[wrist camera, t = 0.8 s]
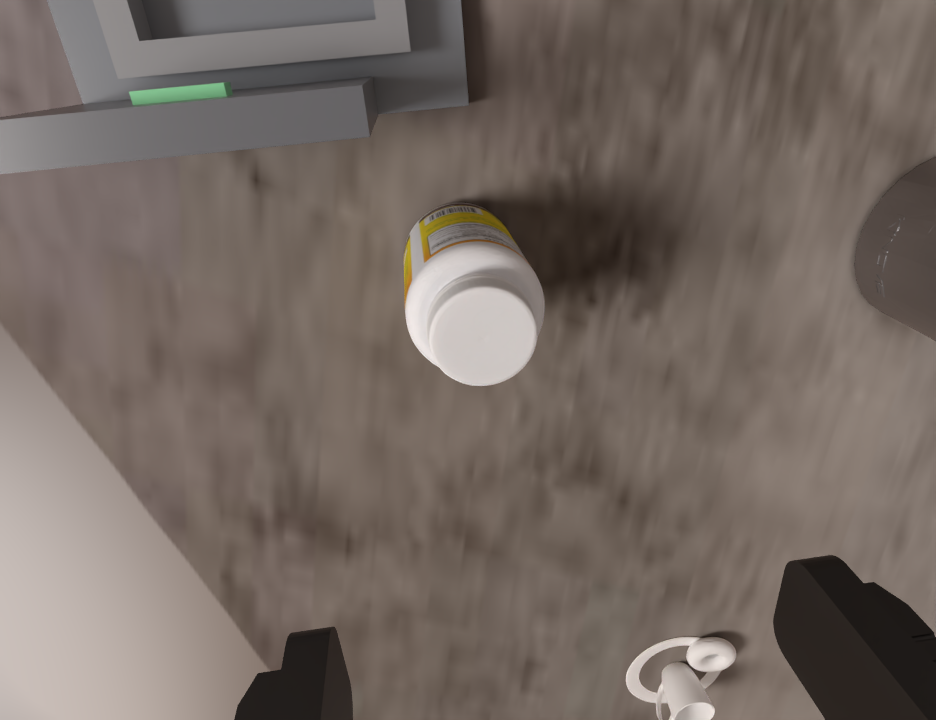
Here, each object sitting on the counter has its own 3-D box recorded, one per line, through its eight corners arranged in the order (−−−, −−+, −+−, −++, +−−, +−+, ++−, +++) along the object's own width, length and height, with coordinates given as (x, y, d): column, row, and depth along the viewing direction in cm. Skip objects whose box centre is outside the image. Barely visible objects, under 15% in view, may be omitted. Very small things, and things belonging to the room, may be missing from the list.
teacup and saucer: (721, 615, 46) (749, 663, 42) (736, 674, 50) (763, 723, 46) (613, 652, 47) (631, 702, 43) (636, 708, 50) (654, 758, 47)
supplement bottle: (461, 325, 32) (485, 431, 23) (380, 259, 30) (372, 348, 21) (535, 249, 31) (591, 331, 22) (455, 174, 29) (480, 230, 20)
